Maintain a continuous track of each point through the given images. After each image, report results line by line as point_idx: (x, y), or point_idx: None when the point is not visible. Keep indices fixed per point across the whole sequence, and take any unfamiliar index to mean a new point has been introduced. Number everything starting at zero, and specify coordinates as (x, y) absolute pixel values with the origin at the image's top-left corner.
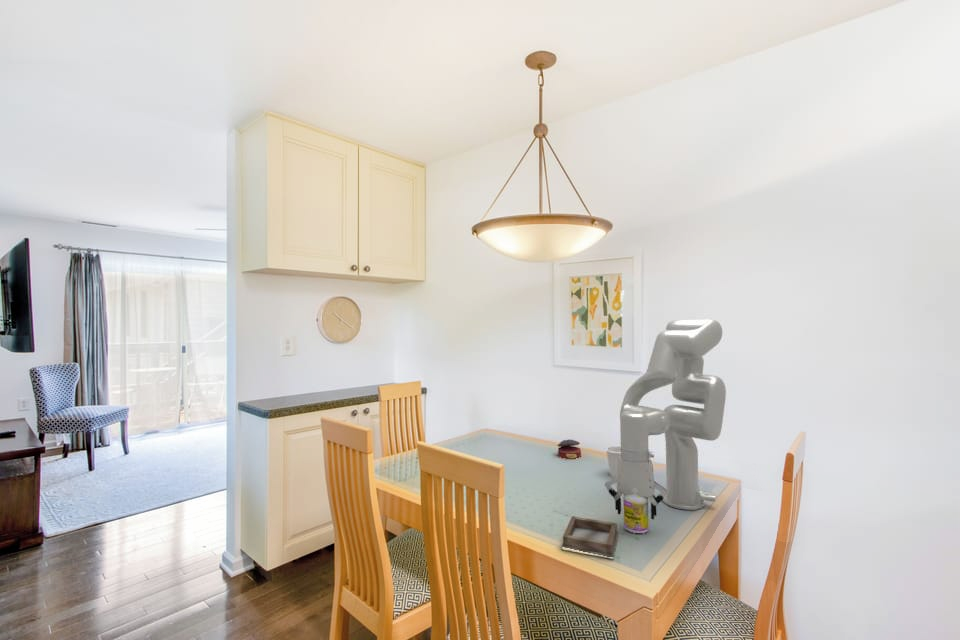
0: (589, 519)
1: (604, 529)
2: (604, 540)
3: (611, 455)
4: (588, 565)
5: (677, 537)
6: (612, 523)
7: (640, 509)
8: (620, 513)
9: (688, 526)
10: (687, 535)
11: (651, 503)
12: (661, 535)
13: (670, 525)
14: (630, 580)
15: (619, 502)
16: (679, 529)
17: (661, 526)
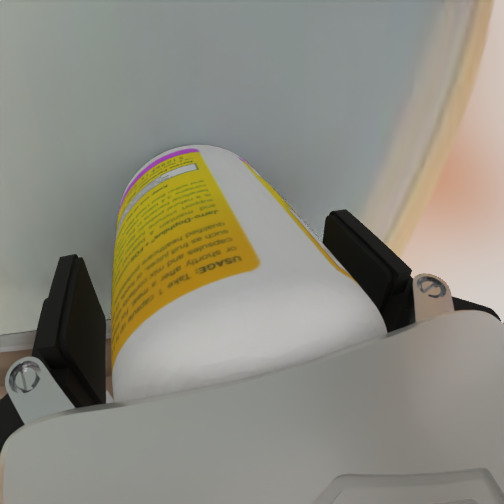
0: (4, 389)
1: None
2: (110, 398)
3: None
4: None
5: (386, 203)
6: (106, 383)
7: None
8: (101, 308)
9: (441, 77)
10: (423, 167)
11: (382, 307)
12: (325, 217)
13: (378, 85)
14: None
15: (100, 399)
16: (408, 119)
17: (334, 112)
